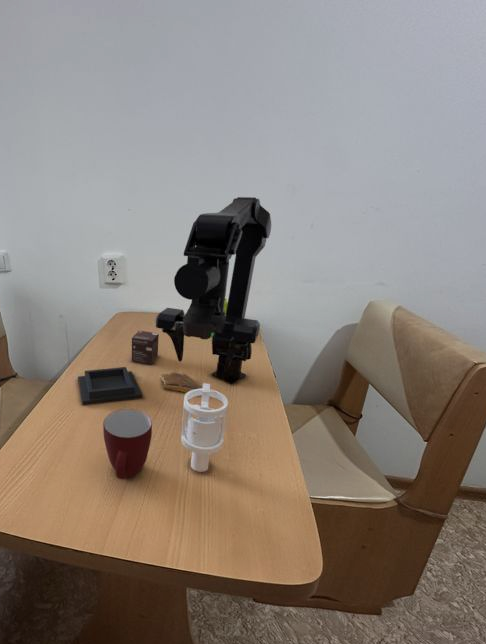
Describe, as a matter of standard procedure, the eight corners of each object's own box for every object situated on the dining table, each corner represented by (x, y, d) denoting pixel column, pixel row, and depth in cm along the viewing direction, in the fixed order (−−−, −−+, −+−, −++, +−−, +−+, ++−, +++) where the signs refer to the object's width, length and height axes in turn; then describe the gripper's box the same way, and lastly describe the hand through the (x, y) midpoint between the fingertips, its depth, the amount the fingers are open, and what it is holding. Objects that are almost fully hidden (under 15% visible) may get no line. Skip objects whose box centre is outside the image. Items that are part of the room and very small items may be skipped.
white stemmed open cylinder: (219, 455, 69) (227, 384, 63) (220, 482, 63) (230, 407, 56) (181, 450, 70) (185, 381, 64) (178, 477, 64) (183, 403, 58)
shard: (205, 396, 88) (206, 389, 87) (177, 403, 85) (177, 396, 84) (182, 376, 97) (182, 369, 96) (155, 381, 94) (156, 375, 93)
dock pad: (131, 374, 98) (131, 364, 97) (142, 398, 87) (142, 387, 86) (78, 379, 95) (77, 370, 94) (82, 405, 84) (81, 394, 83)
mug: (150, 499, 59) (151, 449, 55) (100, 497, 60) (98, 447, 56) (150, 454, 69) (152, 409, 65) (107, 453, 69) (106, 408, 65)
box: (131, 361, 105) (130, 337, 102) (138, 353, 110) (138, 330, 107) (151, 365, 103) (152, 340, 99) (158, 356, 108) (159, 333, 105)
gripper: (145, 290, 65) (143, 371, 71) (256, 305, 57) (243, 393, 63) (167, 279, 74) (163, 351, 80) (265, 290, 67) (253, 368, 73)
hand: (202, 365), depth 74 cm, fingers open, 9 cm apart
